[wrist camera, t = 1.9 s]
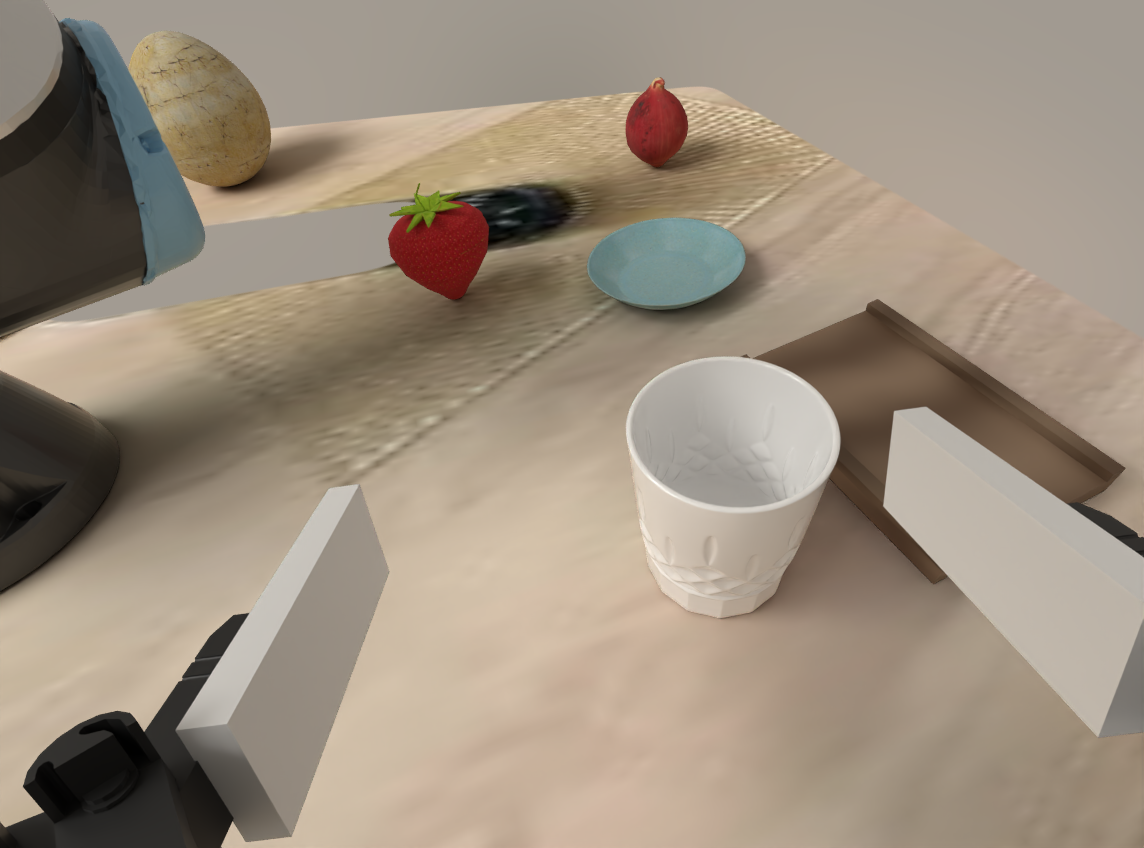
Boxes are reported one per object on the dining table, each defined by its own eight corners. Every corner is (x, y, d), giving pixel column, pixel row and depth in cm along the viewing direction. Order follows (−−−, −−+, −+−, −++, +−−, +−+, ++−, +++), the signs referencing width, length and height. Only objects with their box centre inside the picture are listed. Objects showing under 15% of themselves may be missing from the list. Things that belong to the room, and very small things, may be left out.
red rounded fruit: (645, 186, 56) (643, 96, 50) (617, 164, 60) (612, 78, 54) (697, 168, 57) (701, 78, 51) (666, 148, 61) (666, 62, 55)
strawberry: (514, 301, 46) (485, 177, 39) (422, 334, 45) (374, 213, 38) (490, 266, 50) (459, 147, 43) (405, 295, 49) (358, 178, 41)
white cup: (761, 479, 32) (789, 340, 25) (823, 614, 27) (882, 487, 20) (621, 506, 32) (608, 374, 25) (656, 646, 27) (652, 531, 20)
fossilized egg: (263, 203, 64) (179, 46, 53) (160, 211, 66) (57, 61, 55) (309, 152, 72) (244, 7, 61) (216, 159, 74) (137, 20, 63)
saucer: (569, 319, 44) (565, 294, 43) (614, 236, 51) (612, 212, 50) (728, 339, 41) (731, 313, 39) (753, 247, 48) (756, 221, 46)
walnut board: (732, 379, 38) (735, 359, 36) (870, 320, 40) (877, 299, 39) (933, 584, 27) (946, 565, 26) (1104, 489, 30) (1125, 468, 28)
